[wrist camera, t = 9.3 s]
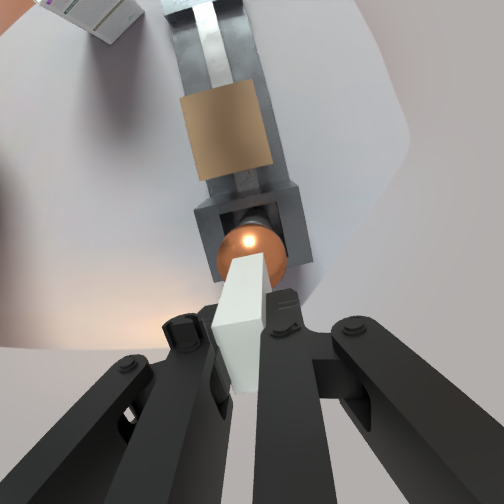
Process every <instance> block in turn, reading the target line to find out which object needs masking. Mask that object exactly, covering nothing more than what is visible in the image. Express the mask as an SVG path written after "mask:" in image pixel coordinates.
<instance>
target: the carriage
mask: <svg viewBox="0 0 504 504" xmlns="http://www.w3.org/2000/svg"><path fill="white" fill-rule="evenodd" d="M180 103H181V107H182V111H183V115H184V120H185V124H186V128H187V132H188V136H189V140H190V144H191V148H192V153H193V157H194V161H195V165H196V169H197V173H198V176H199V180H200V181H203V180H207V179H211V178H215V177H219V176H223V175H227V174H231V173H235V172H239V171H243V170H247V169H252V168H256V167H260V166H265V165H269V164H273V161H272V157H271V152H270V148H269V144H268V140H267V136H266V132H265V128H264V124H263V120H262V116H261V112H260V108H259V104H258V100H257V96H256V92H255V88H254V84H253V80H252V79H249V80H244V81H240V82H236V83H232V84H228V85H224V86H220V87H216V88H212V89H209V90H205V91H201V92H198V93H194V94H191V95H188V96H184V97H181V98H180Z"/></svg>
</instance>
